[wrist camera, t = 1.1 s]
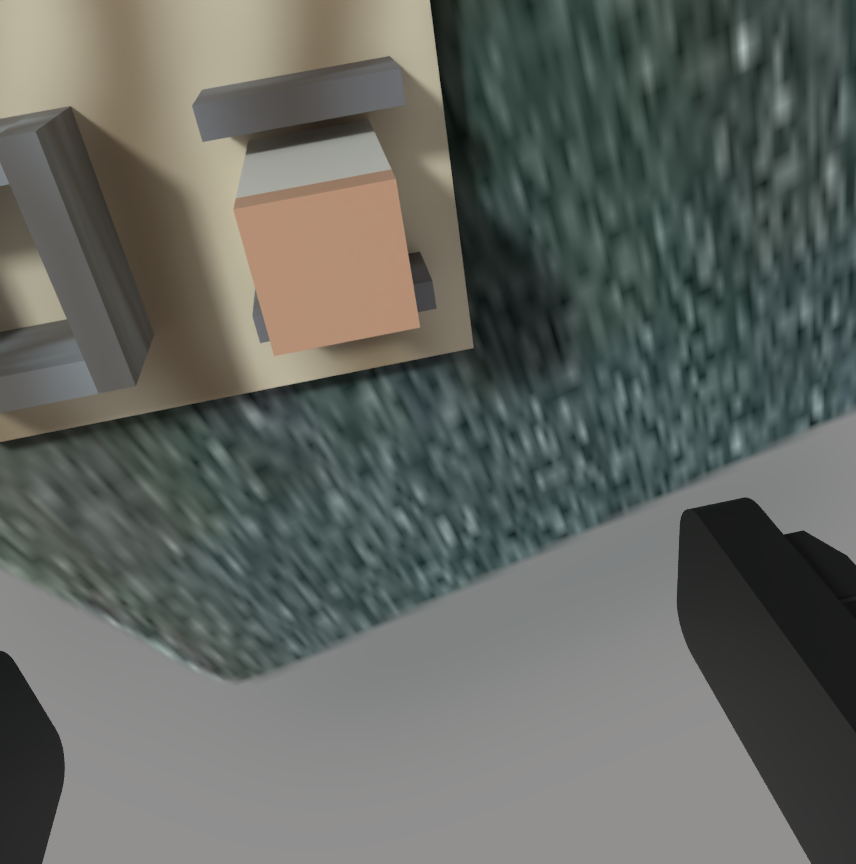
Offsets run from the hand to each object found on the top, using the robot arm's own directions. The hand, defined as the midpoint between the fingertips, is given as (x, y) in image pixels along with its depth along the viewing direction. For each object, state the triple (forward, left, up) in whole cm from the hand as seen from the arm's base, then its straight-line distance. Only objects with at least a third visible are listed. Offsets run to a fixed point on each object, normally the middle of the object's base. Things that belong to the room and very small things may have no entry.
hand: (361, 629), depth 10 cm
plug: (0, 0, -21) cm, 21 cm away
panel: (+5, 0, -22) cm, 23 cm away
